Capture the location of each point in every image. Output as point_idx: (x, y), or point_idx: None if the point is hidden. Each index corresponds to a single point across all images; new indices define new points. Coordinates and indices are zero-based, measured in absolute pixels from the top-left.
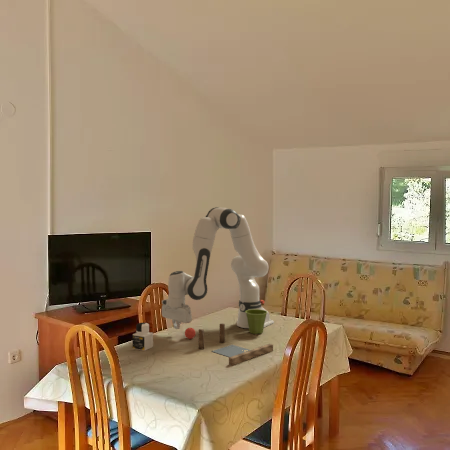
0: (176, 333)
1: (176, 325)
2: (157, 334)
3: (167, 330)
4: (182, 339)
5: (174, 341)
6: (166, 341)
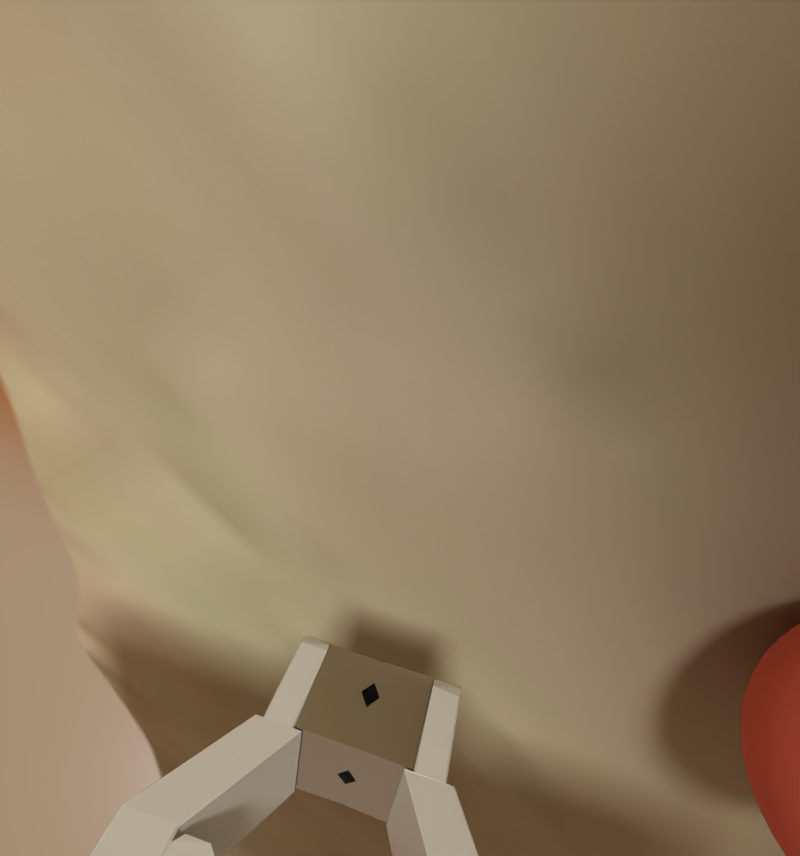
0: (316, 431)
1: (393, 838)
2: (128, 591)
3: (13, 330)
4: (693, 707)
5: (606, 797)
6: (489, 804)
